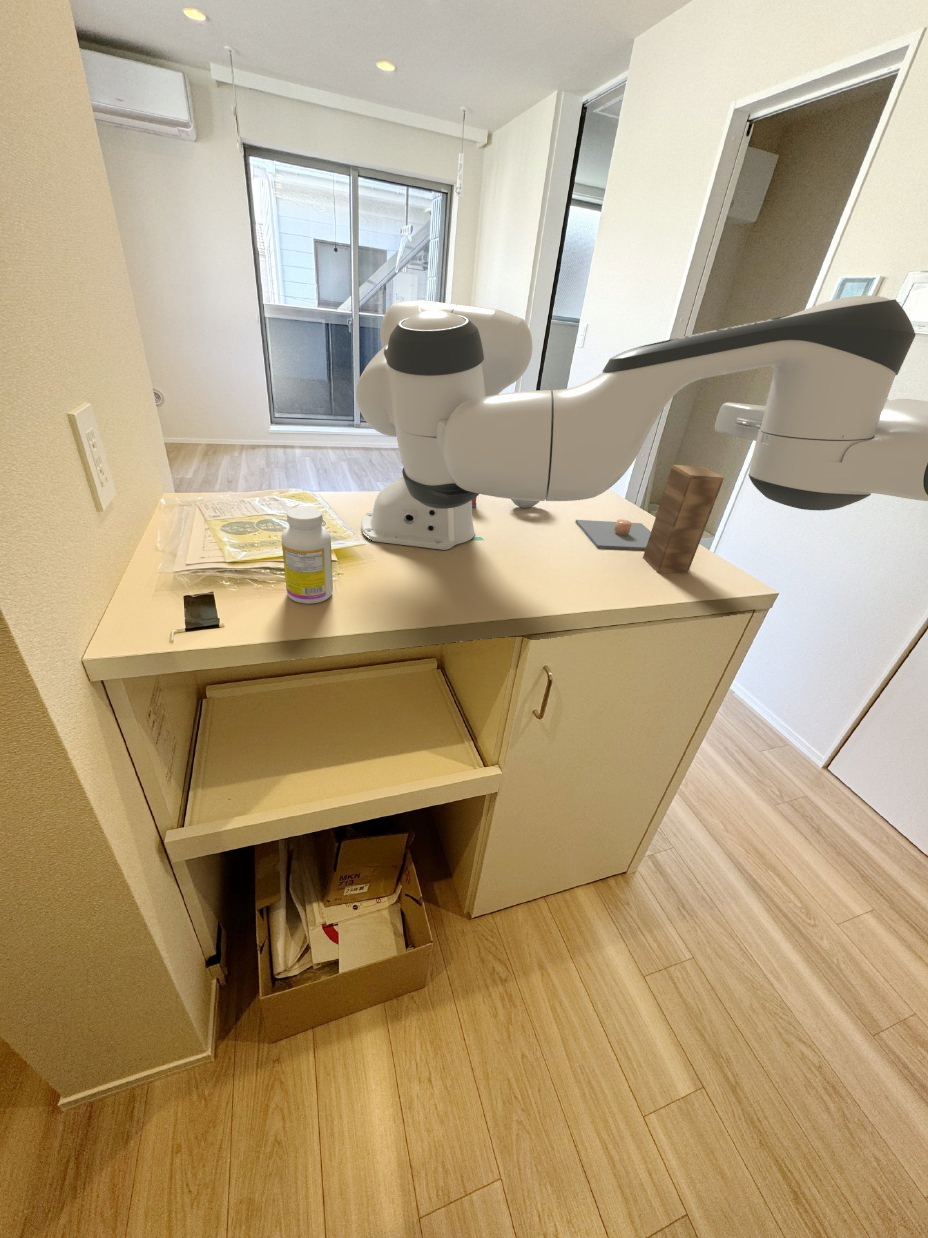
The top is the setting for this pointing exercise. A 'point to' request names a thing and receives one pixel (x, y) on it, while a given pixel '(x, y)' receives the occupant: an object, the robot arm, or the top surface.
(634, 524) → the mat
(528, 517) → the top surface
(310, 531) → the supplement bottle
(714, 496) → the block
